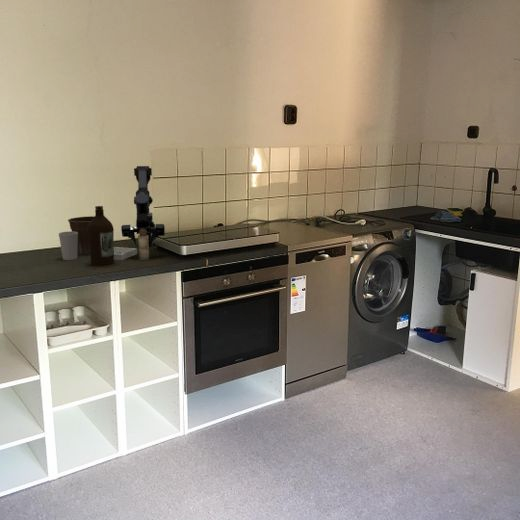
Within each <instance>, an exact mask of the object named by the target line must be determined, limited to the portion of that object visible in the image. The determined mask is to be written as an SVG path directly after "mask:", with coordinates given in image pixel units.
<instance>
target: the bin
mask: <svg viewBox="0 0 520 520" xmlns="http://www.w3.org/2000/svg"><path fill="white" fill-rule="evenodd" d="M116 252H121V253H122V254H115V253H116ZM137 254H138V248H137V247H136V248H134V247H117V246H114V261H124V260H127V259H128V258H131V257H134V256H135V255H137Z"/></svg>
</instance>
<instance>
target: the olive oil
mask: <svg viewBox="0 0 520 520" xmlns="http://www.w3.org/2000/svg"><path fill="white" fill-rule="evenodd" d="M94 209H95V210H94V212H95V215H94V216H95V217H94V218H93V219H92V220H91V222H90V223H89V225H88V229H87V231H88V239H89V248H90V254H89V256H90V257H89V258H90V265H91V266H93V267H94V266H95V267H106V266H111V265H114V264H115V260H114V247H115V246H114V242H115V241H114V231H115V230H114V226H113V224H112V222H111V221H110V220H109V219H108V218H107V217H106V216H105V214H104V210H105V209H104V206H103V205H97V206H96V205H95V207H94Z"/></svg>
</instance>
